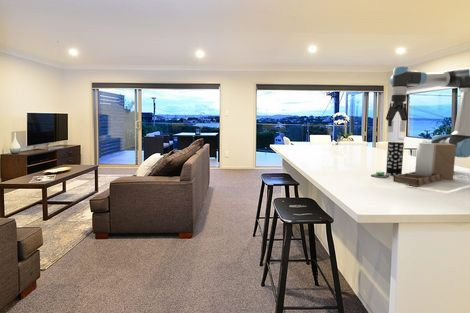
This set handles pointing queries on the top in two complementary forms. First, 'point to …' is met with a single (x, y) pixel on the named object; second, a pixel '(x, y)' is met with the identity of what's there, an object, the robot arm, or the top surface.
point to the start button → (380, 173)
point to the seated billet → (424, 159)
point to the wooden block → (444, 160)
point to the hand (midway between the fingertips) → (396, 132)
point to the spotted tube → (394, 158)
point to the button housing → (379, 176)
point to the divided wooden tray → (416, 179)
